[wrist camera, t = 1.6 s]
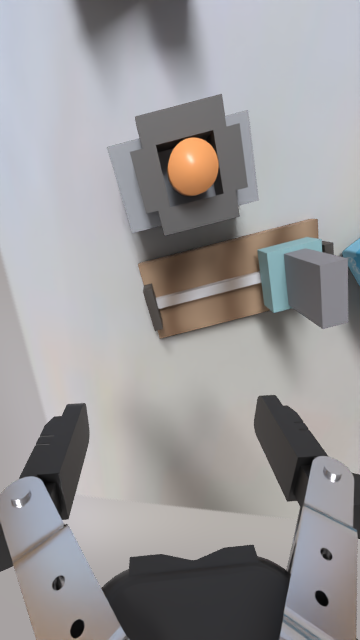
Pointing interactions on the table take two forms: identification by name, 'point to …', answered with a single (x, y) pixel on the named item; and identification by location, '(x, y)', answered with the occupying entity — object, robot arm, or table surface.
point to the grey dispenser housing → (153, 156)
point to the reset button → (192, 167)
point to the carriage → (305, 281)
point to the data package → (353, 259)
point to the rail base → (214, 280)
